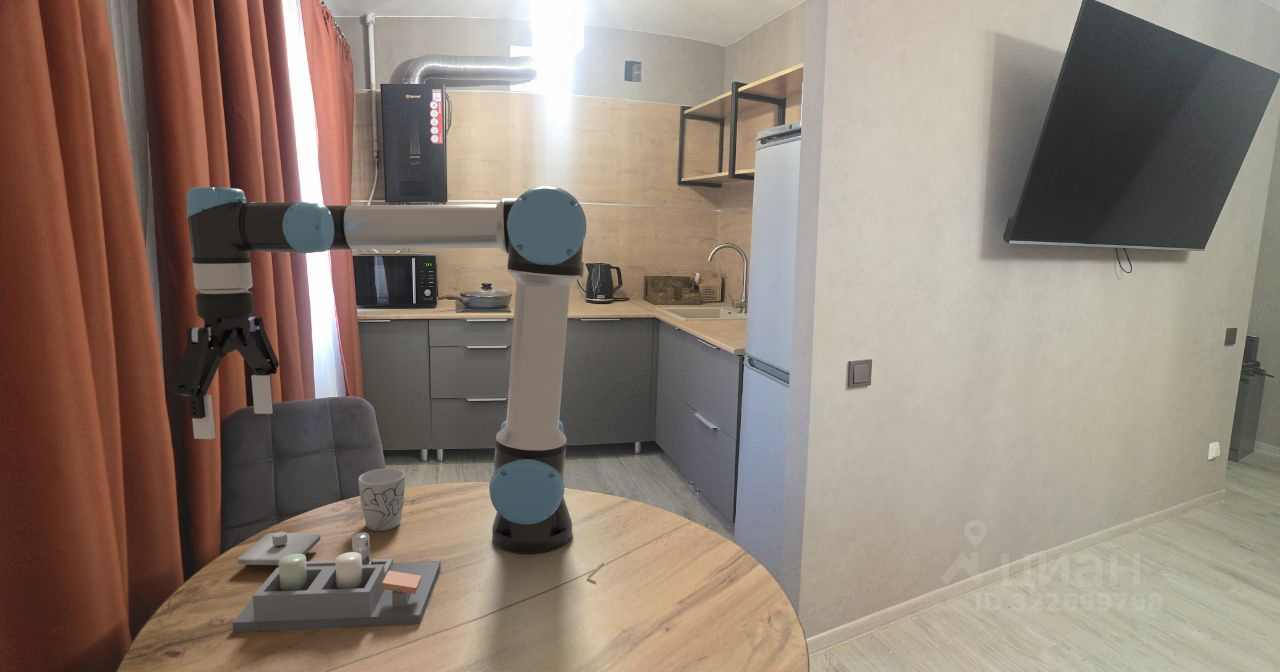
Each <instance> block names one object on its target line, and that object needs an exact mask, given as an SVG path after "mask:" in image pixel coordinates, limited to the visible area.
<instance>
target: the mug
mask: <svg viewBox="0 0 1280 672" xmlns="http://www.w3.org/2000/svg"><path fill="white" fill-rule="evenodd" d="M357 482H358V490H359V498H360V504H361V510H362V513H363V517H364V521H365V526H366V527H367V529H369V530H370V531H374V532H384V531H389V530H393V529H394V528H396V527H398V526H399V525H400V524H401V520H402V515H403V509H404V503H405V502H404V500H405V491H406V490H405V488H406V487H405V485H406V483H405V482H406V474H405V472H404V471H403V470H401V469H398V468H378V469H373V470H369V471H366V472H364V473H362V474H360V476H358V481H357Z"/></svg>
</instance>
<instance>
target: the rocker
mask: <svg viewBox="0 0 1280 672" xmlns="http://www.w3.org/2000/svg"><path fill="white" fill-rule="evenodd" d="M420 581H421V575H414V574H408V573H402V572H395V571H388V573H387V575H386V577H385V579H384V580H383V582H382V587H381V589H385V590H391V591H395V592H396V593H397V594H399V593H400V592H404V593H411V594H415V593H416V591H417V588H418V586H419V584H420Z"/></svg>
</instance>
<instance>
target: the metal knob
mask: <svg viewBox="0 0 1280 672" xmlns="http://www.w3.org/2000/svg"><path fill="white" fill-rule="evenodd" d="M351 545H352V547H351V548H352V549H351V550H352V551H351V552H357V553H360V554H361V556H362V565H373V560H370V559H371V549H370V534H369V533H368V532H358V533H355V534H353V535H352V536H351Z"/></svg>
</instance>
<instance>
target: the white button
mask: <svg viewBox="0 0 1280 672" xmlns="http://www.w3.org/2000/svg"><path fill="white" fill-rule="evenodd" d="M334 561H335V564H336V583H337V587H338V588H340V589H350V588H354V587H357V586H359V585H360V584H361V583H362V581H363V577H362V556H361V554H360V553H357V552H353V551H349V552H344V553H342V554H340V555H338V556H337V557H335V560H334Z"/></svg>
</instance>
